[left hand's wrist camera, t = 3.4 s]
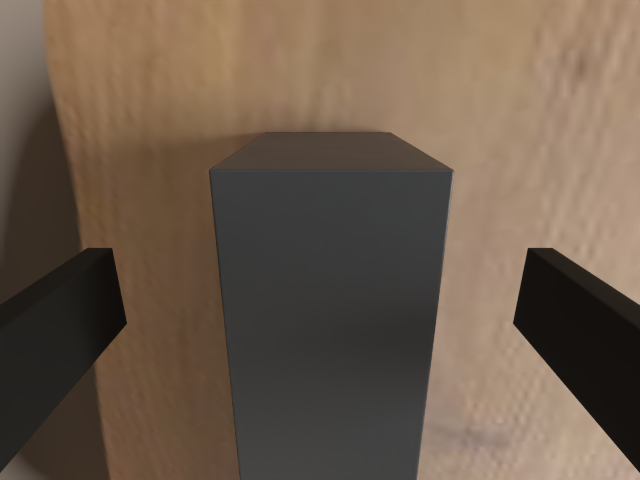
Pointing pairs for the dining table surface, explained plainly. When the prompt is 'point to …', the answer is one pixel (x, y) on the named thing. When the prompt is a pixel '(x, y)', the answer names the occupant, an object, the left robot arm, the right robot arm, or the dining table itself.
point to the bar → (330, 300)
